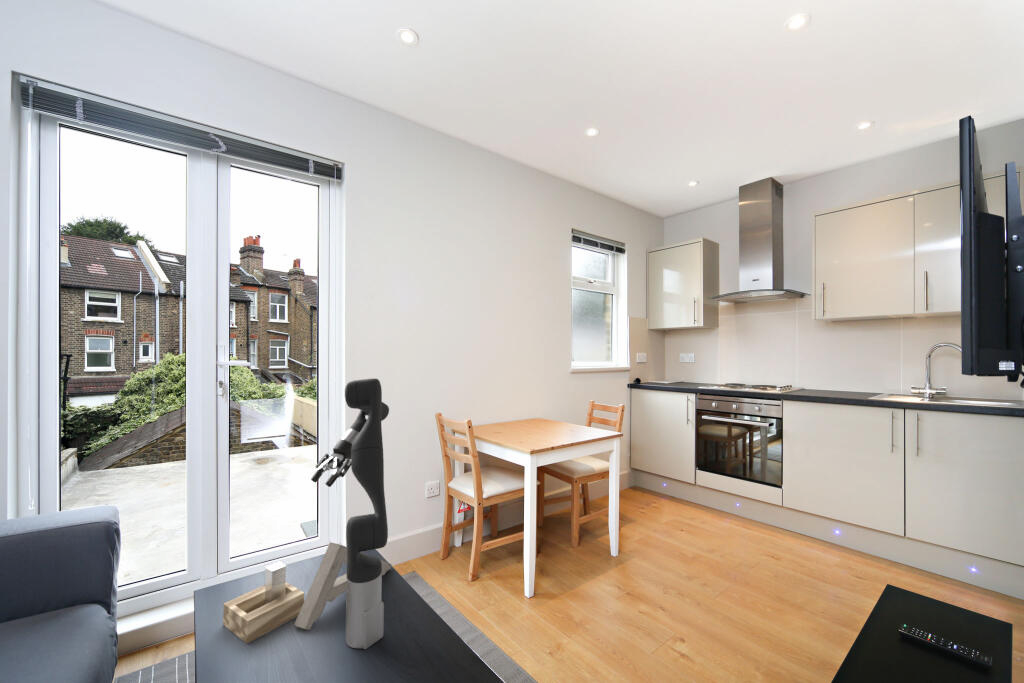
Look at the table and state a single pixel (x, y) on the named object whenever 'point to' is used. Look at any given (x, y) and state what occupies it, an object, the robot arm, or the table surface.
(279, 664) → the table surface
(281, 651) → the table surface
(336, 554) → the grey letter a
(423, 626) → the table surface
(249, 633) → the beech well block
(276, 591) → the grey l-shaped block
